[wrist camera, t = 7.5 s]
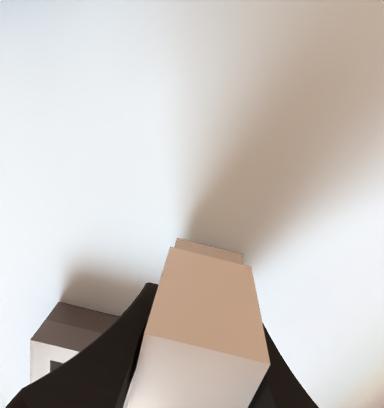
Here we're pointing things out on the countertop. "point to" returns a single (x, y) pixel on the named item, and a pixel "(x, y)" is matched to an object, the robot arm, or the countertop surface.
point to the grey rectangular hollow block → (66, 338)
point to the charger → (201, 334)
